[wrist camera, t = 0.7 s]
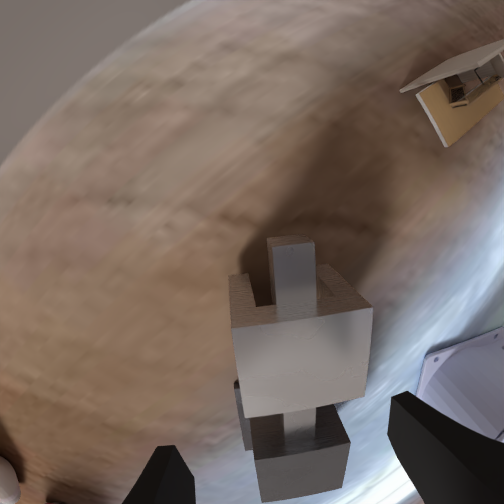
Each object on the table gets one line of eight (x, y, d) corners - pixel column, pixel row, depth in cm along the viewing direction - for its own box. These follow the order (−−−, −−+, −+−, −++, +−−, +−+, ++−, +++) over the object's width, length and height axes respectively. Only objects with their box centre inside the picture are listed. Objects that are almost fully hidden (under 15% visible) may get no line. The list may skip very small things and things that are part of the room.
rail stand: (331, 216, 17) (383, 241, 11) (328, 431, 21) (350, 490, 15) (211, 229, 16) (204, 262, 10) (244, 445, 20) (251, 508, 15)
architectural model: (470, 102, 16) (549, 91, 9) (411, 148, 17) (499, 146, 9) (445, 59, 15) (520, 33, 8) (381, 100, 16) (463, 71, 8)
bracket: (327, 263, 16) (373, 307, 11) (327, 335, 18) (364, 396, 12) (228, 275, 16) (231, 328, 11) (238, 348, 17) (244, 418, 12)
